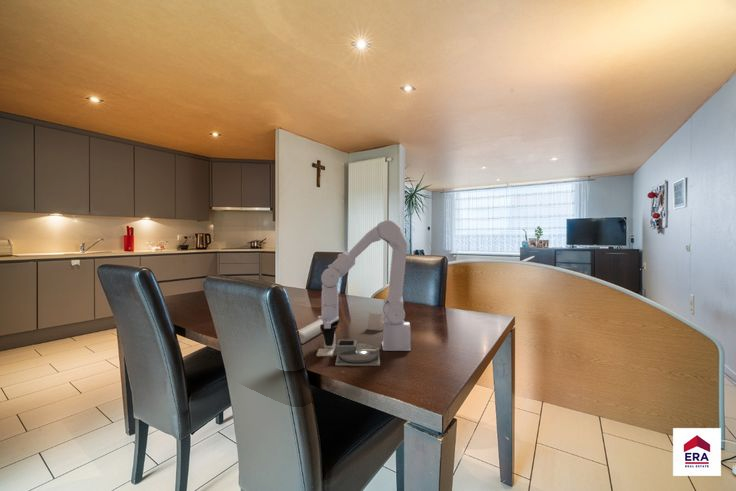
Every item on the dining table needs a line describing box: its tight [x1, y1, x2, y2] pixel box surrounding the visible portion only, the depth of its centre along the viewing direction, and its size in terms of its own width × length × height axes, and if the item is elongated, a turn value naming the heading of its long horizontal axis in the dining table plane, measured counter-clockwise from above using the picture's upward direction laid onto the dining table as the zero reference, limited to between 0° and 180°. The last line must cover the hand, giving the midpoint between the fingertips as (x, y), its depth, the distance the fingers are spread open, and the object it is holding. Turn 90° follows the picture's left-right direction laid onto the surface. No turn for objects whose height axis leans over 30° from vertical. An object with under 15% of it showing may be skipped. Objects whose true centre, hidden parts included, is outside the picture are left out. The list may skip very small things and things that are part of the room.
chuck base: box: [335, 347, 381, 367], centre depth 101 cm, size 13×13×1 cm
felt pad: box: [316, 348, 335, 357], centre depth 104 cm, size 5×5×1 cm
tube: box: [297, 319, 323, 345], centre depth 123 cm, size 5×5×25 cm
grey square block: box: [367, 312, 383, 332], centre depth 131 cm, size 3×7×7 cm, turn 78°
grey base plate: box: [335, 339, 380, 363], centre depth 101 cm, size 13×13×4 cm
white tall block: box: [320, 326, 341, 351], centre depth 108 cm, size 6×3×8 cm, turn 90°
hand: (329, 343), depth 108 cm, fingers open, 4 cm apart
